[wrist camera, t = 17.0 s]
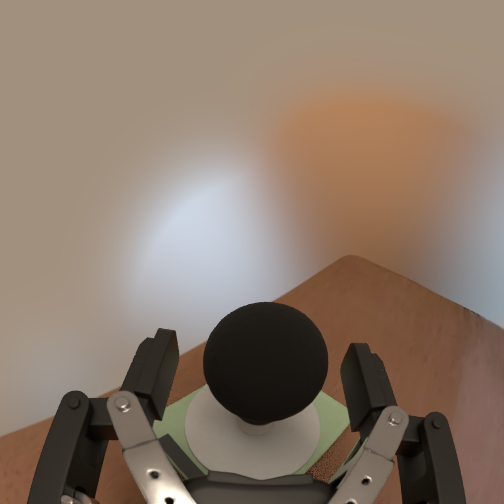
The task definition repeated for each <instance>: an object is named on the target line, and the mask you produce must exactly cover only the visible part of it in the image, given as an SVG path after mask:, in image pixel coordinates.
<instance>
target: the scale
mask: <svg viewBox="0 0 504 504" xmlns="http://www.w3.org/2000/svg"><path fill="white" fill-rule="evenodd" d="M349 424H350V420H349V415H348V410H347V408H346V407H345V406H343V405H342V404H340V403H339V402H337V401H336V400H334V399H333V398H331V397H330V396H328V395H327V394H325V393H324V392H322V391H320V392H319V394H318V395H317V397H316V398H315V399H314V401H313V402H312V403H311V404H310V405H309V406H307V407H306V408H305V409H304V410H303V411H301V412H299V413H298V414H296V415H294V416H291V417H289V418H286V419H284V420H281V421H275V424H274V426H273V427H272V428H271V429H270V430H269V431H268V432H266V433H264V434H260V435H252V434H248V433H246V432H244V431H243V430H242V429H241V428H240V427H239V426H238V424H237V421H236V415H234V414H232V413H231V412H229V411H228V410H226V409H225V408H224V407H223V406H222V405H221V404H220V403H219V402H218V401H217V400H216V399H215V397H214V396H213V394H212V393H211V391H210V389H209V387H208V384H206V385H204V386H203V387H201V388H199V389H198V390H196V391H194V392H193V393H191V394H189V395H188V396H186V397H184V398H182V399H181V400H179V401H177V402H175V403H174V404H172V405H170V406H168V407H166V408H165V412H164V415H163V419H162V421H158V420H155V421H154V424H153V430H154V432H155V434H156V436H157V438H158V440H159V442H160V443H161V445H162V447H163V449H164V451H165V453H166V454H167V456H168V458H169V460H170V461H171V463H172V465H173V466H174V467H175V468H176V469H177V470H178V472H179V473H180V474H181V475H182V476H183V477H184V478H185V479H186V480H187V479H189V478H191V477H195V476H199V475H206V474H208V470H213V471H221V472H231V473H237V474H240V475H243V476H247V477H250V478H254V479H258V480H265V479H270V478H275V477H280V476H284V475H292V474H305V473H306V472H307V471H308V470H309V469H310V468H311V467H312V466H313V465H314V464H315V463H316V462H317V460H318V459H319V458H320V457H321V456H322V455H323V454H324V453H325V452H326V451H327V450H328V449H329V447H330V446H331V445H332V444H333V443H334V442H335V441H336V440H337V438H338V437H339V436H340V435H341V434H342V432H343V431H344V430H345V429H346V428H347V426H348V425H349Z"/></svg>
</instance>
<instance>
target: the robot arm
mask: <svg viewBox="0 0 504 504" xmlns="http://www.w3.org/2000/svg"><path fill="white" fill-rule="evenodd" d="M178 362H179V349H178V342H177V337H176V331H175V330H169V329H162V328H159V329H158V330H157V333H156V335H155V337H154V338H148V337H147V338H146V339H145V340H144V341H143V342H142V343H141V344H140V345H139V347H138V349H137V352H136V355H135V356H134V358H133V362H132V363H131V365H130V368H129V370H128V372H127V375H126V377H125V379H124V382H123V384H122V387H121V389H120V390H119V391H118V392H115V393H113V394H112V395H111V396H110V397H108V398H88V397H87V396H86V395H85V394H84V393H83V392H81V391H71V392H68V393H67V394H65V395H64V397H63V398H62V400H61V403H60V405H59V407H58V410H57V412H56V415H55V417H54V420H53V422H52V425H51V427H50V430H49V433H48V435H47V438H46V441H45V444H44V446H43V449H42V452H41V455H40V458H39V462H38V465H37V468H36V471H35V475H34V478H33V482H32V485H31V489H30V493H29V497H28V501H27V504H100V503H99V502H98V501H97V500H95V495H96V490H97V486H98V481H99V477H100V472H101V468H102V464H103V460H104V456H105V452H106V448H107V445H108V441H109V440H119V441H120V443H121V446H122V449H123V450H122V453H123V456H124V459H125V461H126V463H127V465H128V467H129V469H130V472H131V474H132V476H133V478H134V480H135V482H136V484H137V485H138V487H139V489H140V491H141V493H142V495H143V497H144V498H145V500H146V502H147V504H373V503H374V501H375V499H376V498H377V496H378V494H379V493H380V491H381V489H382V487H383V486H384V484H385V482H386V480H387V478H388V476H389V474H390V472H391V470H392V468H393V466H394V461H393V457H394V455H397V462H398V469H399V476H400V484H401V493H402V503H403V504H466V499H465V493H464V487H463V481H462V476H461V471H460V467H459V462H458V458H457V454H456V450H455V446H454V442H453V438H452V435H451V431H450V428H449V424H448V421H447V419H446V417H445V416H444V415H443V414H441V413H439V412H431V413H429V414H428V415H427V416H426V417H425V418H424V417H416V416H410V415H408V414H407V413H406V411H405V410H404V409H402V408H401V407H398V406H397V403H396V400H395V397H394V394H393V391H392V388H391V385H390V382H389V379H388V376H387V373H386V372H385V367H384V364H383V361H382V360H381V359H380V358H379V357H378V355H377V354H376V353H375V354H371V352H370V349H369V346H368V344H367V343H351V344H350V346H349V348H348V350H347V353H346V355H345V357H344V359H343V361H342V364H341V369H340V374H341V379H342V384H343V389H344V394H345V399H346V404H347V410H348V415H349V420H350V426H351V432H358V431H359V432H360V437H359V439H358V440H357V442H356V444H355V445H354V447H353V448H352V450H351V452H350V453H349V455H348V456H347V458H346V459H345V461H344V462H343V464H342V465H341V467H340V468H339V469H338V470H337V472H336V473H335V474H334V475H333V476H332V477H331V479H330V480H329V481H328V483H327V482H324V481H322V480H318V479H314V478H313V474H292V475H284V476H280V477H275V478H270V479H265V480H258V479H254V478H250V477H247V476H243V475H240V474H237V473H231V472H221V471H213V470H208V474H206V475H199V476H195V477H191V478H189V479H187V480H185V481H182V479H181V477H180V476H179V474H178V473H177V471H176V469H175V468H174V466H173V465H172V463H171V461H170V460H169V458H168V456H167V454H166V453H165V451H164V449H163V447H162V445H161V443H160V442H159V440H158V438H157V436H156V434H155V432H154V430H153V424H154V421H155V420H158V421H162V419H163V415H164V412H165V408H166V404H167V401H168V397H169V394H170V390H171V387H172V383H173V380H174V376H175V373H176V369H177V366H178Z"/></svg>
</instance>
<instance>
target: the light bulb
mask: <svg viewBox="0 0 504 504" xmlns="http://www.w3.org/2000/svg"><path fill="white" fill-rule="evenodd" d="M203 369H204V376H205V379H206V382H207V384H208V387H209V389H210V391H211V393H212V394H213V396H214V397H215V399H216V400H217V401H218V402H219V403H220V404H221V405H222V406H223V407H224V408H225V409H226V410H228V411H229V412H231V413H232V414H234V415H236V421H237V424H238V426H239V427H240V428H241V429H242V430H243V431H244V432H246V433H248V434H252V435H260V434H264V433H266V432H268V431H269V430H270V429H271V428H272V427H273V426H274V424H275V421H281V420H284V419H286V418H289V417H291V416H294V415H296V414H298V413H299V412H301V411H303V410H304V409H305V408H306V407H307V406H309V405H310V404H311V403H312V402H313V401H314V399H315V398H316V397H317V395H318V394H319V392H320V391H321V389H322V387H323V384H324V382H325V379H326V376H327V372H328V352H327V347H326V344H325V341H324V339H323V337H322V334H321V332H320V331H319V329H318V328H317V327H316V325H315V324H314V323H313V322H312V321H311V320H310V319H309V318H308V317H307V316H306V315H305V314H303V313H302V312H300V311H299V310H297V309H295V308H293V307H290V306H287V305H284V304H279V303H274V302H259V303H253V304H248V305H246V306H243V307H240V308H238V309H236V310H235V311H233V312H231V313H230V314H228V315H227V316H225V317H224V318H223V319H222V320H221V321H220V322H219V323H218V325H217V326H216V327H215V328H214V330H213V331H212V332H211V334H210V336H209V338H208V341H207V344H206V347H205V350H204V356H203Z"/></svg>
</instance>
